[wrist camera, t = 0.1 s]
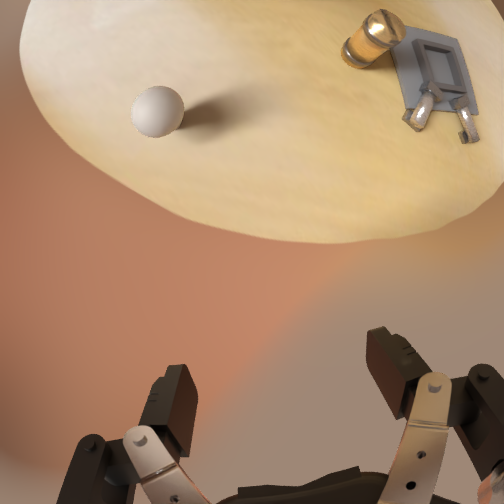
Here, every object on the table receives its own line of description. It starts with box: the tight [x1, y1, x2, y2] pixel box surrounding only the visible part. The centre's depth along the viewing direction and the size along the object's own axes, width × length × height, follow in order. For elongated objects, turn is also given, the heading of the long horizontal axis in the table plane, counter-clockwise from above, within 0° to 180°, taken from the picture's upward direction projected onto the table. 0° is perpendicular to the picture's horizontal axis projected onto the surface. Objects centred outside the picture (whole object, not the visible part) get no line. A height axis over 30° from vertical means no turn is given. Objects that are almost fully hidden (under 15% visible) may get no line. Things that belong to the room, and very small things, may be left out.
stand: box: [390, 26, 479, 115], centre depth 30 cm, size 16×18×3 cm
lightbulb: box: [131, 86, 184, 138], centre depth 29 cm, size 6×6×11 cm
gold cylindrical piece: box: [341, 9, 406, 69], centre depth 26 cm, size 5×5×12 cm
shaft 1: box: [402, 80, 444, 132], centre depth 32 cm, size 8×3×4 cm, turn 150°
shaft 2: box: [448, 95, 480, 144], centre depth 33 cm, size 8×3×4 cm, turn 30°
